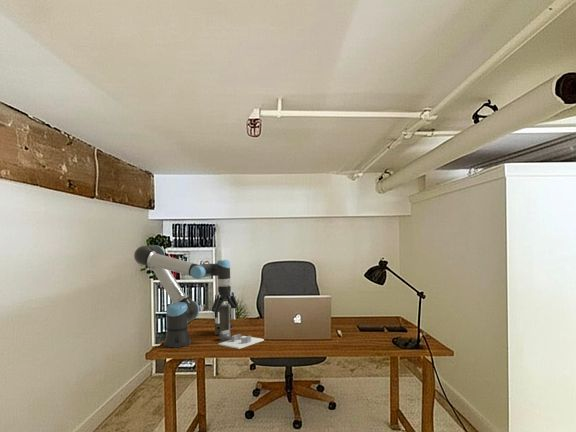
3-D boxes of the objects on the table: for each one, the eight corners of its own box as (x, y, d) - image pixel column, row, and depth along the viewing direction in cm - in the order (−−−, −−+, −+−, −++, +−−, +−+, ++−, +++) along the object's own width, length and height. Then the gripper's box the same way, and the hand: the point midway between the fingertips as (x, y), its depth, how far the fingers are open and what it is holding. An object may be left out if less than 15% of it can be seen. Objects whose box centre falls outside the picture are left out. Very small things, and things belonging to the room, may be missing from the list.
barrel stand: (239, 348, 239) (238, 342, 239) (218, 345, 248) (218, 338, 248) (263, 340, 257) (263, 333, 257) (243, 337, 266) (243, 330, 266)
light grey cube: (225, 342, 255) (225, 332, 256) (217, 340, 259) (217, 331, 259) (232, 339, 261) (232, 330, 261) (225, 338, 264) (224, 329, 265)
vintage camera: (235, 331, 285) (234, 300, 287) (229, 335, 270) (228, 303, 271) (220, 331, 286) (219, 301, 288) (214, 336, 271) (213, 304, 272)
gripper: (213, 288, 249) (215, 325, 248) (242, 283, 269) (243, 317, 268) (204, 287, 253) (205, 324, 252) (233, 283, 274) (234, 316, 273)
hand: (225, 321), depth 260 cm, fingers open, 13 cm apart
